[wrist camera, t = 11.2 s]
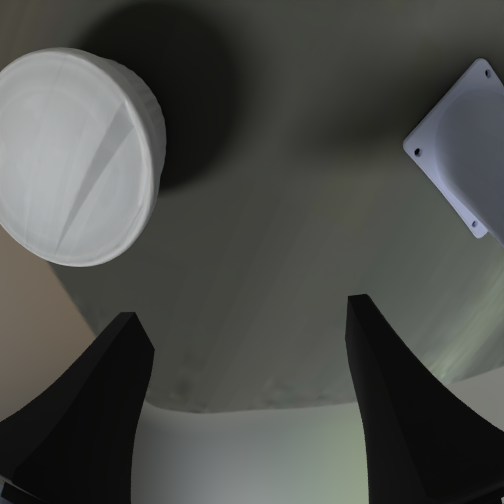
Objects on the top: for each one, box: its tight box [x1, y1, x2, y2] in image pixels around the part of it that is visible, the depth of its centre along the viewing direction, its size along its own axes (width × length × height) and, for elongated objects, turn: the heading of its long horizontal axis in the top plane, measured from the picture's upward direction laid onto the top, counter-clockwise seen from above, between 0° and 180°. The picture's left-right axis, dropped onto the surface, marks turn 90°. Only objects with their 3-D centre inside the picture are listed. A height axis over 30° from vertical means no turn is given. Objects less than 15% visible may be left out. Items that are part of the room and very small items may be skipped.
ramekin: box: [0, 47, 167, 267], centre depth 14 cm, size 11×11×5 cm
